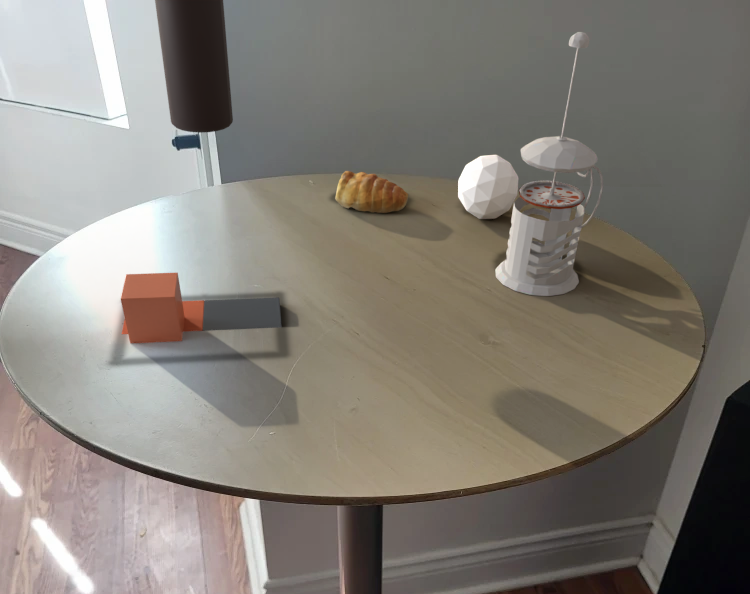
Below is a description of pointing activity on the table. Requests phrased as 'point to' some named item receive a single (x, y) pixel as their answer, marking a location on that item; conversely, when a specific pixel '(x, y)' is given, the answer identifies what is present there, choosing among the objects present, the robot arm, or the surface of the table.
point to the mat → (230, 314)
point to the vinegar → (195, 63)
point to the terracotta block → (153, 307)
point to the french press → (531, 258)
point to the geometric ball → (488, 187)
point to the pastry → (369, 193)
